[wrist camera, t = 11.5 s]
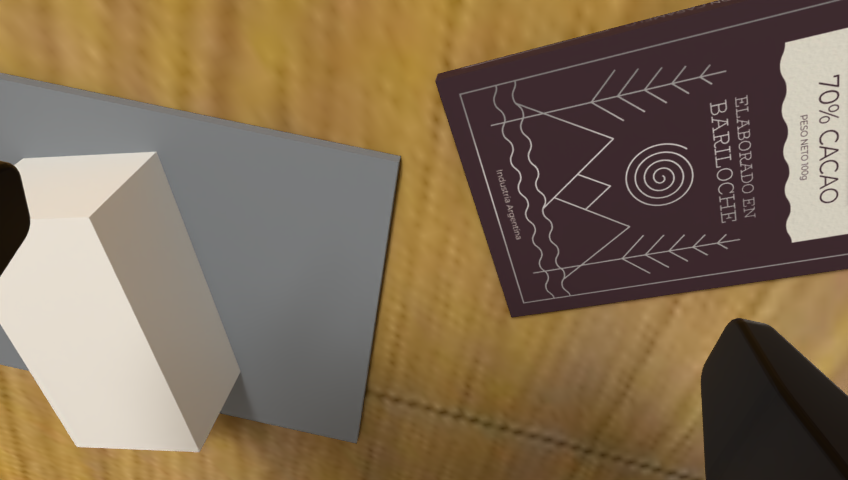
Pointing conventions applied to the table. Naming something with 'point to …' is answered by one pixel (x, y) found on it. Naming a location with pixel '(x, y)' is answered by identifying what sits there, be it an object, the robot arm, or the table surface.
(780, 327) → the table surface
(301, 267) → the mat
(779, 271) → the chocolate bar
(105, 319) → the block
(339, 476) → the table surface
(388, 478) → the table surface
